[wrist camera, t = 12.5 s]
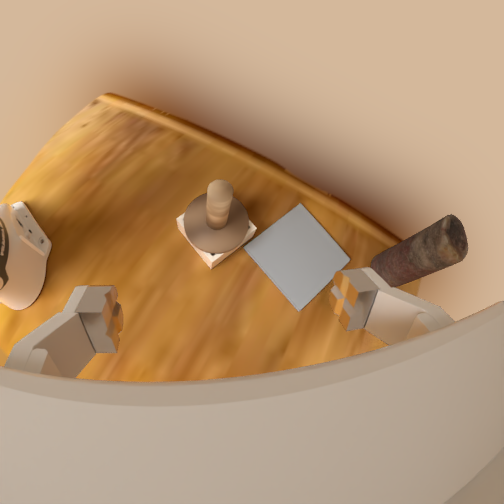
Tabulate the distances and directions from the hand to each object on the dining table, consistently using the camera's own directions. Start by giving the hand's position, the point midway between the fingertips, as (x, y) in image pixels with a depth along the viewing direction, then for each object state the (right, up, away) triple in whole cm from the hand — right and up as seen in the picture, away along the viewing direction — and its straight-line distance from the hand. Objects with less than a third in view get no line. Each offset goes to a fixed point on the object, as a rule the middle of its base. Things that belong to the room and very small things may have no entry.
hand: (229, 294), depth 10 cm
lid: (-5, +6, +32) cm, 33 cm away
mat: (+9, +1, +38) cm, 39 cm away
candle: (+27, -3, +40) cm, 48 cm away
